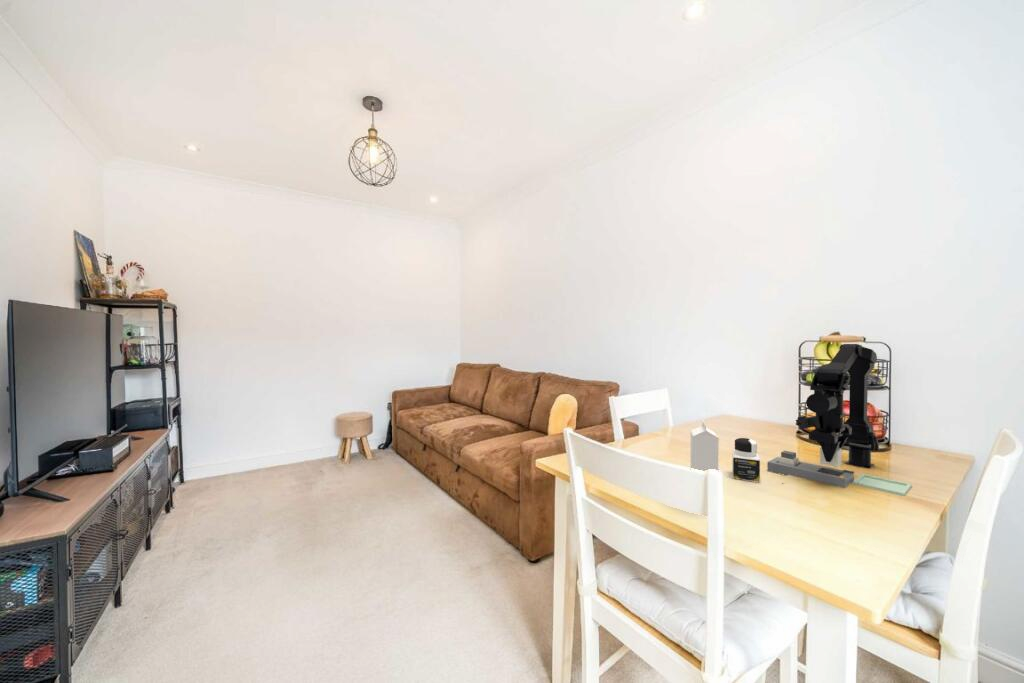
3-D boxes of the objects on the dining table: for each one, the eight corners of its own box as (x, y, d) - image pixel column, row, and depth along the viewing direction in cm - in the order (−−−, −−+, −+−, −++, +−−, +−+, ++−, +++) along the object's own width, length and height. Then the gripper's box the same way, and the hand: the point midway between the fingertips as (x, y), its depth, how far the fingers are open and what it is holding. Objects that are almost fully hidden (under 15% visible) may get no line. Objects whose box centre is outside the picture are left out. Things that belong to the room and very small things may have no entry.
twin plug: (783, 468, 132) (783, 449, 132) (798, 472, 128) (798, 452, 128) (778, 471, 129) (778, 452, 129) (793, 475, 126) (793, 455, 126)
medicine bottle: (733, 479, 123) (733, 440, 123) (732, 471, 129) (732, 435, 129) (759, 482, 119) (760, 443, 119) (757, 475, 126) (758, 438, 126)
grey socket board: (778, 465, 135) (778, 455, 135) (854, 482, 119) (854, 471, 119) (767, 470, 130) (767, 460, 130) (845, 489, 113) (845, 478, 113)
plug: (824, 460, 123) (824, 440, 123) (841, 464, 119) (841, 443, 119) (820, 463, 120) (820, 442, 120) (837, 467, 117) (837, 445, 117)
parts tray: (862, 477, 123) (862, 473, 123) (911, 488, 114) (911, 484, 114) (852, 485, 117) (852, 481, 116) (904, 497, 108) (904, 493, 108)
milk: (693, 507, 103) (692, 424, 102) (690, 498, 109) (689, 419, 108) (719, 510, 101) (718, 425, 100) (714, 501, 107) (714, 420, 106)
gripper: (809, 402, 132) (809, 448, 132) (788, 409, 120) (788, 459, 121) (852, 407, 123) (852, 456, 123) (834, 415, 111) (833, 469, 112)
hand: (830, 460), depth 120 cm, fingers closed on plug, 4 cm apart
